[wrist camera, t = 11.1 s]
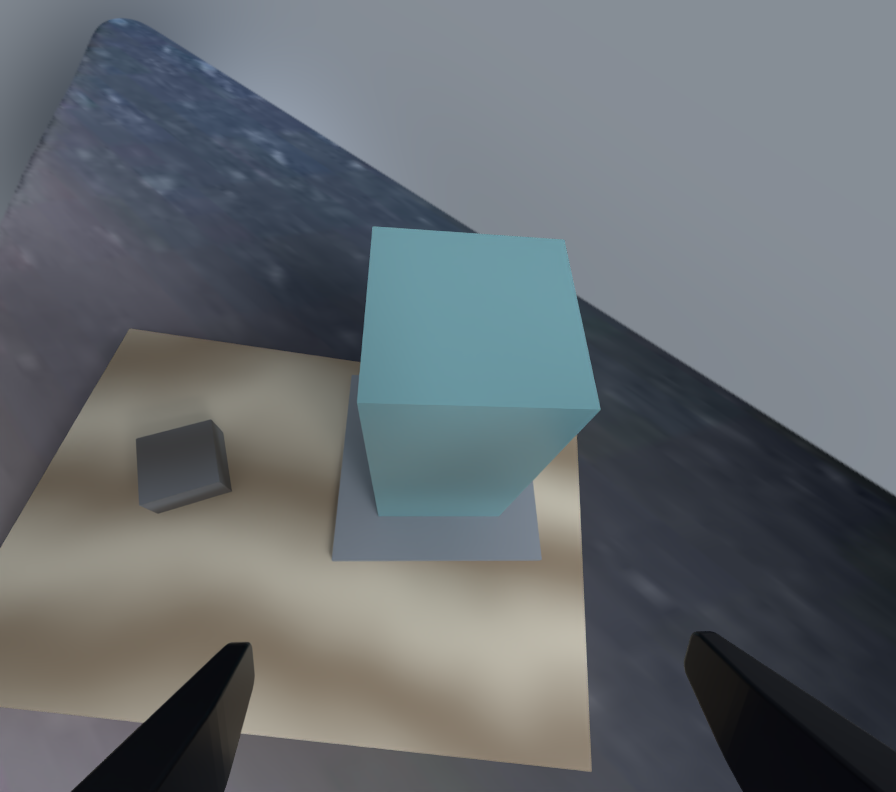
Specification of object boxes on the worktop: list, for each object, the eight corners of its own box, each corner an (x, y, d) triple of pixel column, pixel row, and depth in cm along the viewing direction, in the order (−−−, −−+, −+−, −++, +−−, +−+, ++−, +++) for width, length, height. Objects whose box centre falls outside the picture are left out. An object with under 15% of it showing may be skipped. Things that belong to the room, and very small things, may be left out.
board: (576, 759, 17) (609, 785, 14) (-48, 691, 16) (-136, 705, 13) (565, 405, 24) (585, 379, 22) (144, 344, 24) (112, 310, 21)
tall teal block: (498, 516, 19) (600, 409, 9) (378, 516, 19) (357, 403, 9) (490, 409, 22) (564, 239, 12) (384, 406, 21) (372, 226, 11)
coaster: (539, 560, 19) (541, 559, 18) (333, 561, 18) (331, 560, 18) (519, 385, 23) (521, 381, 23) (352, 378, 22) (351, 374, 22)
